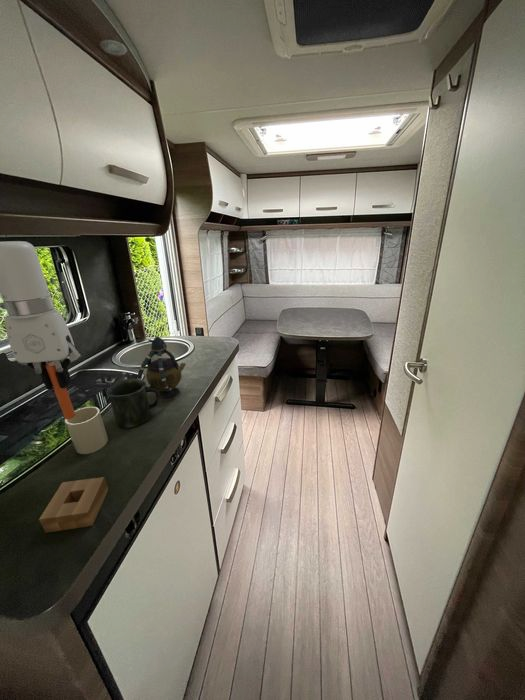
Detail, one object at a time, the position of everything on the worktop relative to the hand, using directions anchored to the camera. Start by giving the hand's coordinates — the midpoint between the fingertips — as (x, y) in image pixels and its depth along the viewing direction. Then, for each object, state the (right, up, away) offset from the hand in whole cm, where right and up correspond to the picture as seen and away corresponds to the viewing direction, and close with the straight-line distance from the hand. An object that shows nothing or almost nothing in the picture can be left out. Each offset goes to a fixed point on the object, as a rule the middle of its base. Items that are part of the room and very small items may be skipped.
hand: (59, 385), depth 63 cm
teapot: (+11, -7, +44) cm, 46 cm away
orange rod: (0, -8, +3) cm, 9 cm away
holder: (+6, -27, -2) cm, 28 cm away
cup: (-3, -19, +17) cm, 26 cm away
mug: (+6, -14, +28) cm, 32 cm away
